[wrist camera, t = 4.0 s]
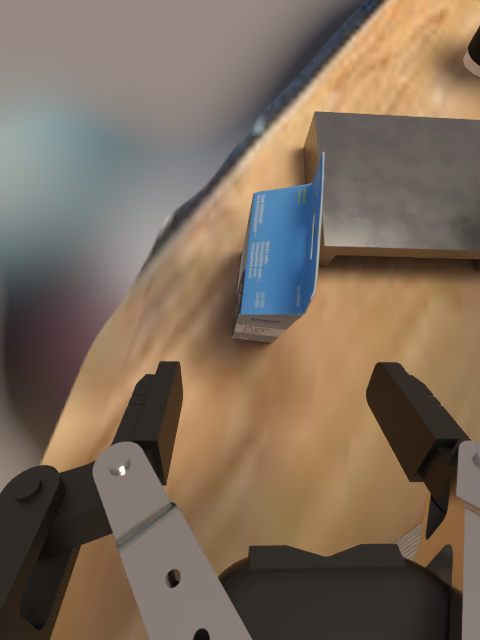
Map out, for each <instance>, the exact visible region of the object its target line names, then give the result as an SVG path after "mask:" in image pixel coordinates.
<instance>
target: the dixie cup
mask: <svg viewBox="0 0 480 640" xmlns="http://www.w3.org/2000/svg"><path fill="white" fill-rule="evenodd" d="M463 62H464V65H465V67H466V68H467V70H468V71H470V72H471V73H472V74H474V75H476V76H478V77H480V26H479V28H478V30H477V31H476V33H475V35H474V37H473V38H472V40H471V42H470V43H469V45H468V50H467V52H466V53H465V55H464V57H463Z"/></svg>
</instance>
